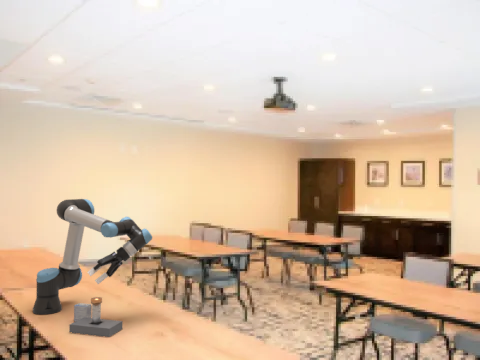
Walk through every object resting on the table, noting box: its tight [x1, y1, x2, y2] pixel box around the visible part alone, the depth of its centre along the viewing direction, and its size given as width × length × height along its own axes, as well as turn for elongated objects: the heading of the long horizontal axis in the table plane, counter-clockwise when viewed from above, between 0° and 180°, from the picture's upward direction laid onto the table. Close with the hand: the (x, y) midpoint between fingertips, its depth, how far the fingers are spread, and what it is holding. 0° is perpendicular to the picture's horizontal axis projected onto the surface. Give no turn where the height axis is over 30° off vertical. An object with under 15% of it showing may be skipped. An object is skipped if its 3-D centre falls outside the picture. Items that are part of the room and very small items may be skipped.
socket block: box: [68, 317, 124, 338], centre depth 218 cm, size 22×12×4 cm, turn 75°
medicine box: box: [73, 302, 92, 322], centre depth 234 cm, size 8×4×9 cm, turn 74°
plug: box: [90, 296, 103, 325], centre depth 218 cm, size 5×5×16 cm
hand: (92, 278), depth 227 cm, fingers open, 13 cm apart
